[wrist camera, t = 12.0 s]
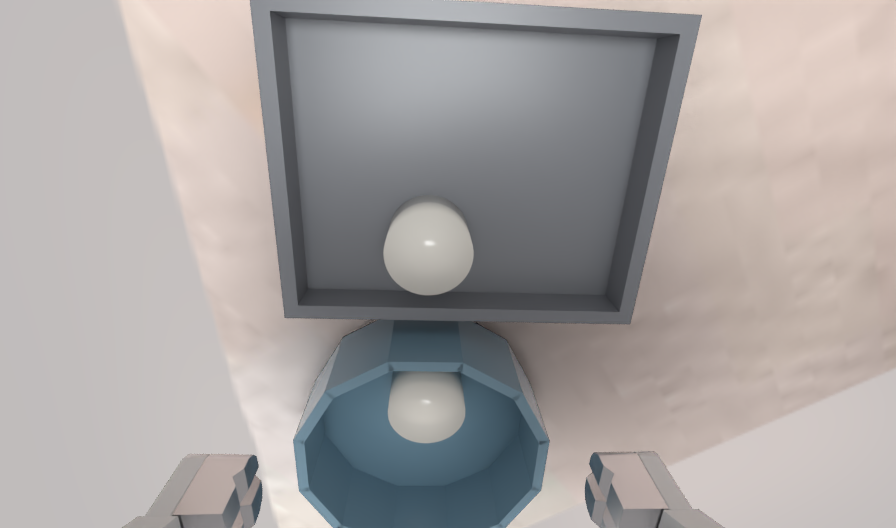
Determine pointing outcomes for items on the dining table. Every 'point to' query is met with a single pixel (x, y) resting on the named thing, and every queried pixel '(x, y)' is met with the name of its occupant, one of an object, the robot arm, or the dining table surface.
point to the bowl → (410, 463)
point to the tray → (468, 150)
